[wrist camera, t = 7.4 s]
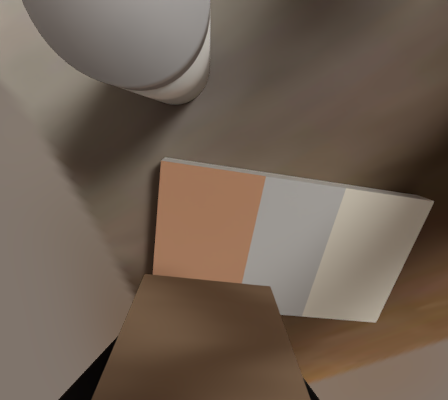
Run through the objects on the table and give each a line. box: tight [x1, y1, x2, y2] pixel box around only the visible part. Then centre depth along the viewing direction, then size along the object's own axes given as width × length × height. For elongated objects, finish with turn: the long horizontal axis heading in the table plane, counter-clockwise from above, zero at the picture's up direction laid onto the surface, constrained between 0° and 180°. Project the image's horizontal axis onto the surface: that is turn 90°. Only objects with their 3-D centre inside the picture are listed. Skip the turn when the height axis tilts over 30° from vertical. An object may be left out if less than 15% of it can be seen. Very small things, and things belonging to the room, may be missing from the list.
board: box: [153, 157, 434, 323], centre depth 16 cm, size 17×10×1 cm, turn 81°
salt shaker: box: [22, 0, 210, 105], centre depth 9 cm, size 4×4×8 cm
